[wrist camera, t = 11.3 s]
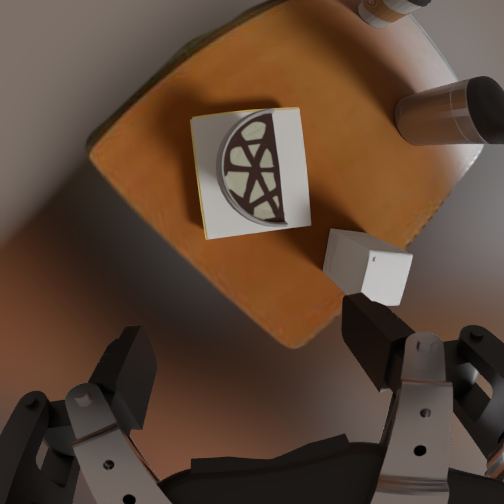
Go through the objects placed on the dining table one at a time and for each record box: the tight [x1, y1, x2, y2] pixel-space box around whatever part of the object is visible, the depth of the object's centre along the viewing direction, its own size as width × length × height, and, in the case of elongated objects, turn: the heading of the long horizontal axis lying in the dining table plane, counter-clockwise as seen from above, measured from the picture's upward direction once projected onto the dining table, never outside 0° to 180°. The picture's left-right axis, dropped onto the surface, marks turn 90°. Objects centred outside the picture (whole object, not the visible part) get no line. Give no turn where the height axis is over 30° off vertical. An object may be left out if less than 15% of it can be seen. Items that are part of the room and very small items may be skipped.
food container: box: [216, 108, 288, 227], centre depth 29 cm, size 12×6×10 cm, turn 7°
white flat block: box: [190, 107, 311, 239], centre depth 36 cm, size 14×16×4 cm
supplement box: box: [323, 228, 413, 306], centre depth 37 cm, size 7×7×13 cm
